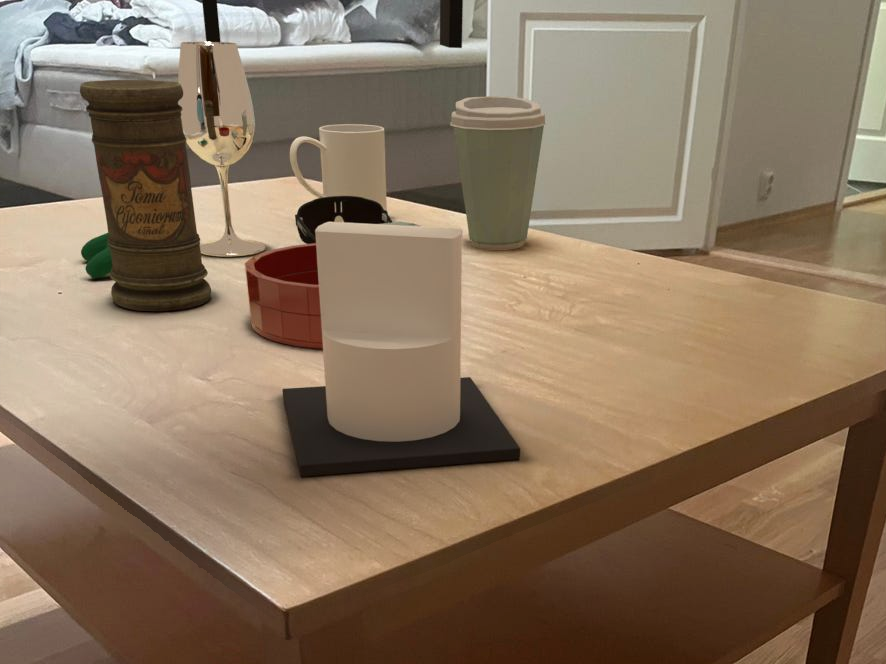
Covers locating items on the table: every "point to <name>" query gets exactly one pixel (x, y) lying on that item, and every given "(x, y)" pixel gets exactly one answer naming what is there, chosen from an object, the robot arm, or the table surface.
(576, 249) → the table surface
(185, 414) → the table surface
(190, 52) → the wineglass
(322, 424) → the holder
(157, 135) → the container
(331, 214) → the sunglasses
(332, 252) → the base with upright slab
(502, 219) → the disposable coffee cup
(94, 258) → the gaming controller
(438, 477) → the table surface
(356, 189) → the mug
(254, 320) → the red round dish
